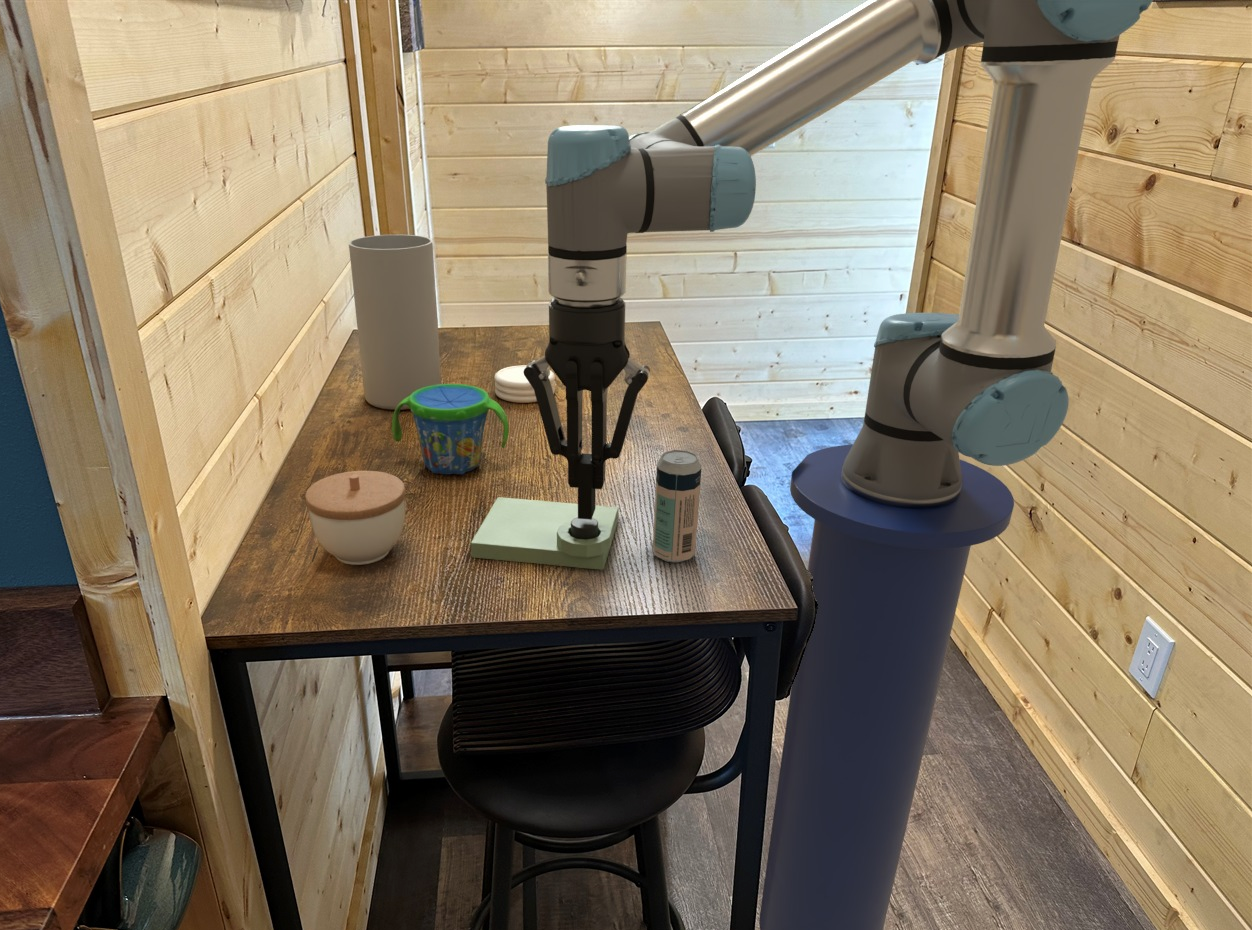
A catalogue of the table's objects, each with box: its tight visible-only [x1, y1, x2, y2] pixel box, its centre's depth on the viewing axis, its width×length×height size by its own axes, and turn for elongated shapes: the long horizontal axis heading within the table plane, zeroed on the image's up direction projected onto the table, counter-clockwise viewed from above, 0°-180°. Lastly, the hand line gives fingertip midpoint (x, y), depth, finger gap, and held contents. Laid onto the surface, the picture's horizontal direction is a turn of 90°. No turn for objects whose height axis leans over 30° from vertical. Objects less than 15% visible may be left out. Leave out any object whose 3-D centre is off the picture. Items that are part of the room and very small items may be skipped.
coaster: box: [494, 364, 556, 404], centre depth 151 cm, size 10×10×4 cm
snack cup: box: [391, 383, 510, 476], centre depth 123 cm, size 16×10×10 cm
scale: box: [470, 496, 620, 571], centre depth 105 cm, size 15×13×4 cm
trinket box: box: [304, 470, 406, 566], centre depth 101 cm, size 11×11×9 cm
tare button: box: [571, 517, 598, 540], centre depth 100 cm, size 3×3×2 cm
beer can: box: [652, 449, 702, 563], centre depth 100 cm, size 5×5×12 cm
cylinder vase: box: [348, 234, 442, 411], centre depth 144 cm, size 12×12×25 cm
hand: (586, 513), depth 99 cm, fingers closed
